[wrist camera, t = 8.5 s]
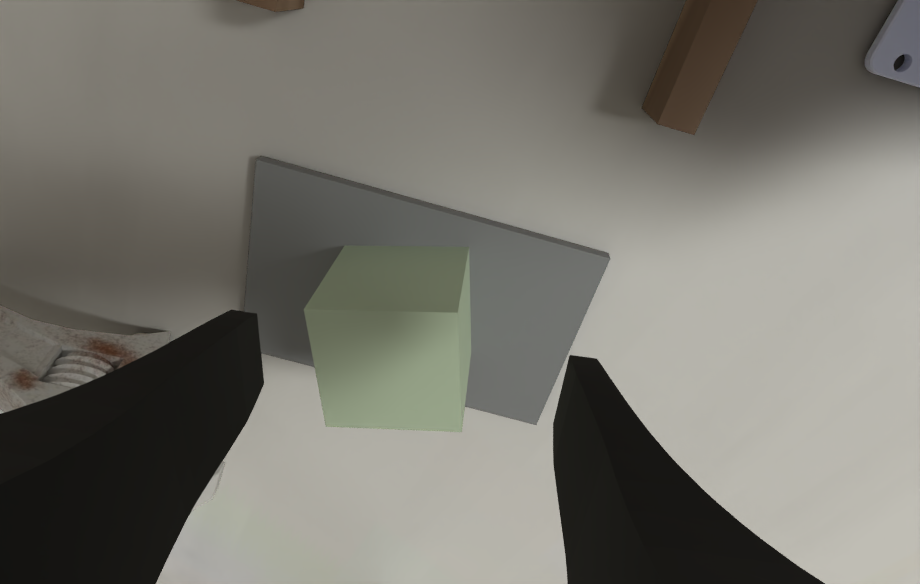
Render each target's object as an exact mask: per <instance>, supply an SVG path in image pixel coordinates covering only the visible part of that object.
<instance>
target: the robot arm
mask: <svg viewBox="0 0 920 584" xmlns="http://www.w3.org/2000/svg"><path fill="white" fill-rule="evenodd" d="M901 55H904V57H905V60H904V63H903V65H902V66H901V67H900V68H898V69H896V70H894V66H893V65H894V62H895V60H896V59H897V58H898V57H899V56H901ZM865 67H866V69H867V70H868V71H869V72H871V73H873V74H876V75H880V76H883V77H886V78H889V79H893V80H896V81H899V82H903V83H906V84H909V85H912V86H916V87H919V88H920V0H898V1H897V3H896V4H895V6H894V8H893V10H892V11H891V13H890V15H889V16H888V18H887V20H886V22H885V23H884V25H883V27H882V28H881V30H880V32H879V34H878V35H877V37H876V39H875V40H874V42H873V44H872V46H871V47H870V49H869V51H868V52H867V55H866V57H865ZM263 385H264V379H263V369H262V358H261V348H260V338H259V327H258V317H257V313H250V312H243V311H235V310H230V311H228V312H226V313H224V314H222V315H220V316H218V317H216V318H214V319H212V320H210V321H208V322H206V323H205V324H203V325H201V326H199V327H197V328H195V329H194V330H192V331H190V332H188V333H186V334H185V335H183V336H181V337H179V338H177V339H175V340H173V341H172V342H170V343H168V344H166V345H164V346H162V347H160V348H159V349H157V350H155V351H153V352H151V353H149V354H147V355H145V356H143V357H141V358H139V359H137V360H135V361H133V362H131V363H128V364H126V365H124V366H122V367H120V368H118V369H116V370H114V371H112V372H110V373H108V374H106V375H103V376H101V377H99V378H97V379H94V380H92V381H90V382H87V383H85V384H83V385H80V386H78V387H75V388H73V389H70V390H68V391H65V392H63V393H60V394H58V395H55V396H52V397H49V398H47V399H44V400H41V401H38V402H35V403H32V404H29V405H26V406H23V407H20V408H17V409H14V410H11V411H8V412H5V413H2V414H0V584H156V582H157V580H158V577H159V575H160V573H161V571H162V569H163V567H164V564H165V562H166V560H167V558H168V556H169V554H170V552H171V550H172V548H173V546H174V544H175V542H176V540H177V538H178V536H179V534H180V532H181V530H182V528H183V526H184V524H185V522H186V520H187V518H188V516H189V514H190V513H191V511H192V509H193V507H194V506H195V504H196V502H197V500H198V499H199V497H200V496H201V494H202V493H203V491H204V489H205V488H206V486H207V485H208V483H209V481H210V480H211V478H212V477H213V475H214V474H215V472H216V470H217V469H218V467H219V466H220V464H221V462H222V461H223V459H224V458H225V456H226V455H227V453H228V451H229V450H230V448H231V447H232V445H233V443H234V442H235V440H236V439H237V437H238V435H239V434H240V432H241V430H242V429H243V427H244V425H245V424H246V422H247V420H248V418H249V416H250V414H251V412H252V410H253V408H254V405H255V403H256V401H257V399H258V396H259V394H260V392H261V389H262V387H263ZM553 457H554V471H555V479H556V487H557V494H558V502H559V509H560V517H561V524H562V532H563V539H564V547H565V554H566V565H567V579H568V584H825V583H823V582H822V581H820V580H819V579H817V578H815V577H814V576H812V575H811V574H809V573H808V572H806V571H805V570H803V569H802V568H800V567H799V566H797V565H796V564H794V563H793V562H792V561H790V560H789V559H787V558H786V557H785V556H783V555H782V554H781V553H779V552H778V551H777V550H775V549H774V548H773V547H771V546H770V545H768V544H767V543H766V542H764V541H763V540H762V539H760V538H759V537H758V536H757V535H755V534H754V533H753V532H752V531H750V530H749V529H748V528H747V527H745V526H744V525H743V524H742V523H740V522H739V521H738V520H737V519H736V518H735V517H733V516H732V515H731V514H730V513H729V512H728V511H726V510H725V509H724V508H723V507H722V506H721V505H719V504H718V503H717V502H716V501H715V500H714V499H713V498H711V497H710V496H709V495H708V494H707V493H706V492H705V491H704V490H703V489H702V488H701V487H700V486H699V485H698V484H697V483H696V482H695V481H694V480H693V479H692V478H691V477H690V476H689V475H688V474H687V473H686V472H685V471H684V470H683V469H682V468H681V467H680V466H679V465H678V464H677V463H676V462H675V461H674V460H673V459H672V458H671V457H670V456H669V454H668V453H667V452H666V451H665V450H664V449H663V448H662V446H661V445H660V444H659V443H658V442H657V441H656V439H655V438H654V437H653V436H652V435H651V433H650V432H649V431H648V430H647V428H646V427H645V426H644V425H643V423H642V422H641V421H640V419H639V418H638V417H637V415H636V414H635V413H634V411H633V410H632V409H631V407H630V406H629V405H628V403H627V402H626V400H625V399H624V398H623V396H622V395H621V393H620V392H619V390H618V389H617V387H616V386H615V384H614V383H613V382H612V380H611V379H610V377H609V376H608V374H607V373H606V371H605V370H604V368H603V367H602V365H601V364H600V362H599V361H598V360H597V359H595V358H587V357H580V356H572V355H570V356H569V360H568V365H567V369H566V373H565V377H564V381H563V385H562V389H561V394H560V398H559V402H558V406H557V410H556V414H555V419H554V423H553Z"/></svg>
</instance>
